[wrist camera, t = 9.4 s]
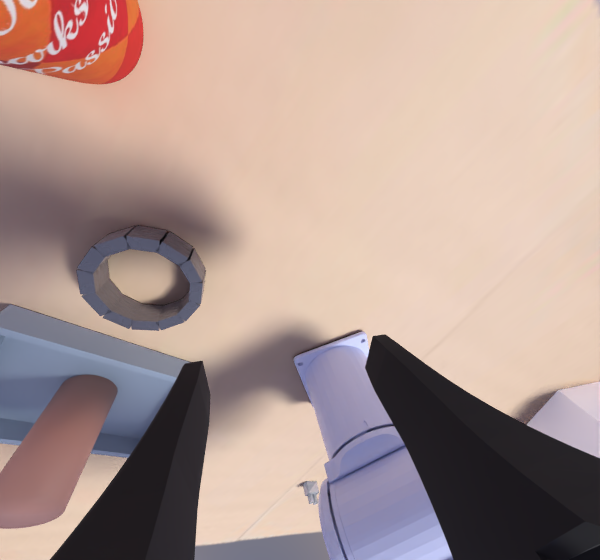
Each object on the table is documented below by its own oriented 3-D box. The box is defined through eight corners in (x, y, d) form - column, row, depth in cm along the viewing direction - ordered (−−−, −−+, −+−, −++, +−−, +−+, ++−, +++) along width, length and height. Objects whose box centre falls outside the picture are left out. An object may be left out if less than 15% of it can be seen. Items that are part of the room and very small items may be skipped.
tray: (204, 366, 23) (201, 384, 21) (145, 438, 26) (138, 458, 24) (10, 304, 16) (-15, 323, 15) (-39, 410, 19) (-64, 435, 18)
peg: (127, 396, 22) (80, 510, 15) (81, 411, 22) (13, 534, 15) (98, 368, 20) (29, 487, 13) (47, 384, 19) (-50, 515, 13)
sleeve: (220, 295, 20) (218, 310, 18) (135, 324, 19) (125, 342, 18) (174, 212, 16) (167, 221, 14) (67, 246, 15) (47, 260, 14)
